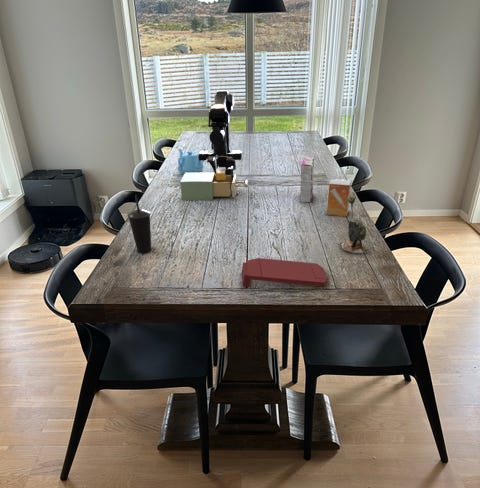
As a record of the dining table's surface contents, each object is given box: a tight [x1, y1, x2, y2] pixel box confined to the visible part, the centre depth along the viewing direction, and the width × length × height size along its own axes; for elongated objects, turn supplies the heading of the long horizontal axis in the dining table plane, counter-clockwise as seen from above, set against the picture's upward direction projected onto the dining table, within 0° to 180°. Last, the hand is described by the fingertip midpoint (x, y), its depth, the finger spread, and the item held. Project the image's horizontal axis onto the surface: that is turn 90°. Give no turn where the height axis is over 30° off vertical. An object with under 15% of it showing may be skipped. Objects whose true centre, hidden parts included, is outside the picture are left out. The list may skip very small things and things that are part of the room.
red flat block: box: [240, 257, 328, 288], centre depth 138 cm, size 12×5×25 cm
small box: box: [326, 178, 353, 217], centre depth 180 cm, size 8×6×13 cm
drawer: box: [212, 173, 249, 198], centre depth 204 cm, size 18×12×7 cm, turn 87°
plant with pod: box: [339, 191, 367, 255], centre depth 149 cm, size 8×11×20 cm
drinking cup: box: [126, 194, 152, 254], centre depth 153 cm, size 8×8×20 cm
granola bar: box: [216, 167, 226, 180], centre depth 201 cm, size 4×8×3 cm, turn 177°
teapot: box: [176, 148, 206, 174], centre depth 238 cm, size 15×15×10 cm
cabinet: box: [179, 171, 215, 201], centre depth 205 cm, size 14×13×8 cm
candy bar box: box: [299, 157, 315, 203], centre depth 195 cm, size 11×5×16 cm, turn 168°
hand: (221, 174), depth 201 cm, fingers closed on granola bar, 4 cm apart
